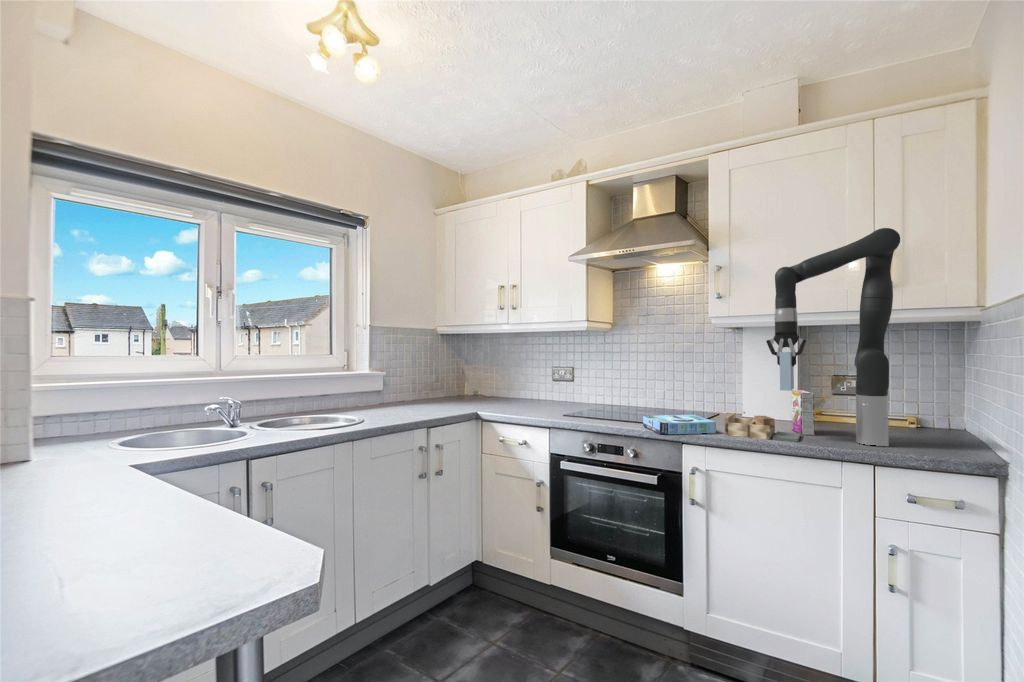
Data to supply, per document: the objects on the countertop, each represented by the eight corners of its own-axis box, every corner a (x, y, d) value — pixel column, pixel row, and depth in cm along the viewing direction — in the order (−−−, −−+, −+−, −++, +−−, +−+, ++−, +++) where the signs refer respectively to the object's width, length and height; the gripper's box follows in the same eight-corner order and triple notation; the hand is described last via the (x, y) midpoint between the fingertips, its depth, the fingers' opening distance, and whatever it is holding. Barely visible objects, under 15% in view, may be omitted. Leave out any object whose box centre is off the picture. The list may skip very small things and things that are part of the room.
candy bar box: (790, 430, 205) (790, 390, 205) (804, 430, 204) (804, 390, 204) (800, 435, 194) (800, 392, 194) (815, 435, 193) (814, 393, 193)
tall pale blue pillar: (793, 388, 192) (793, 351, 192) (790, 390, 183) (790, 352, 183) (783, 388, 194) (782, 351, 194) (780, 390, 185) (779, 352, 185)
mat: (800, 436, 192) (800, 433, 192) (797, 442, 181) (797, 439, 181) (777, 433, 197) (777, 431, 197) (772, 439, 185) (772, 437, 185)
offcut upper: (764, 424, 197) (764, 415, 197) (774, 428, 189) (774, 418, 189) (754, 424, 197) (754, 415, 197) (763, 428, 189) (763, 418, 189)
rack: (774, 433, 198) (774, 415, 198) (769, 439, 185) (769, 420, 185) (732, 429, 206) (732, 412, 206) (724, 435, 194) (724, 417, 194)
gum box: (694, 425, 217) (642, 427, 216) (694, 413, 217) (642, 415, 215) (716, 433, 198) (659, 435, 196) (715, 420, 198) (659, 422, 196)
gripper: (808, 320, 188) (809, 366, 188) (766, 321, 196) (767, 365, 196) (806, 319, 182) (807, 367, 182) (763, 321, 190) (764, 366, 190)
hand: (786, 366), depth 189 cm, fingers closed on tall pale blue pillar, 3 cm apart
